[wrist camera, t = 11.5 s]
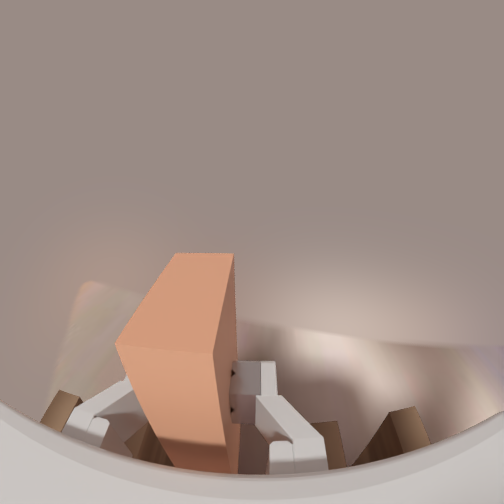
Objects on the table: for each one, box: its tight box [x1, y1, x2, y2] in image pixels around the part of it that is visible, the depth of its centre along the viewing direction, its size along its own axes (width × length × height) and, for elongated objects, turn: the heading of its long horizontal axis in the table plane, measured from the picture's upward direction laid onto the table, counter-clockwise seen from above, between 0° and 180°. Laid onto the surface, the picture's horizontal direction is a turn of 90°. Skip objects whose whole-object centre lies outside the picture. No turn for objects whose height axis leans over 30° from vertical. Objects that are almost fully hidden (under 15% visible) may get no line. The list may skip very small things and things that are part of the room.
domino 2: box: [124, 421, 175, 467], centre depth 13 cm, size 2×5×10 cm, turn 179°
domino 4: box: [310, 421, 347, 470], centre depth 13 cm, size 2×5×10 cm, turn 178°
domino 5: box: [352, 406, 431, 466], centre depth 12 cm, size 2×5×10 cm, turn 178°
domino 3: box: [115, 253, 241, 474], centre depth 9 cm, size 2×5×10 cm, turn 179°
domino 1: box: [40, 390, 83, 432], centre depth 13 cm, size 2×5×10 cm, turn 179°
